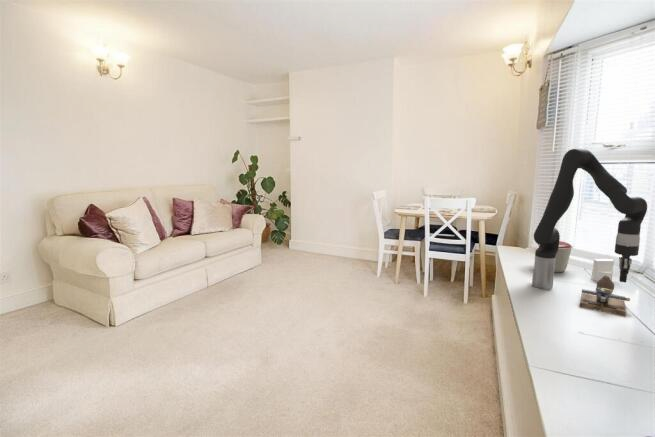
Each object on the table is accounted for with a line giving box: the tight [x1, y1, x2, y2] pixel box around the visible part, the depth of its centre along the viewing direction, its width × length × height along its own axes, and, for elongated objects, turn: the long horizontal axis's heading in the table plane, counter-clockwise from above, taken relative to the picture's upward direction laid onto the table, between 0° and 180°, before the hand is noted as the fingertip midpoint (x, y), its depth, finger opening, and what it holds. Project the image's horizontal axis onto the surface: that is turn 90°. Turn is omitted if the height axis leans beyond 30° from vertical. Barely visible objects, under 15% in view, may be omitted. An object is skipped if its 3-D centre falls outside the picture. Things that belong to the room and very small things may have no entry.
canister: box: [537, 240, 574, 273], centre depth 200 cm, size 18×18×21 cm
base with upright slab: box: [591, 258, 615, 283], centre depth 182 cm, size 9×9×12 cm
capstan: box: [581, 287, 631, 303], centre depth 150 cm, size 17×16×6 cm
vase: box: [596, 276, 615, 294], centre depth 165 cm, size 7×7×9 cm
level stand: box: [579, 292, 627, 317], centre depth 151 cm, size 16×14×3 cm
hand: (622, 281), depth 141 cm, fingers closed
